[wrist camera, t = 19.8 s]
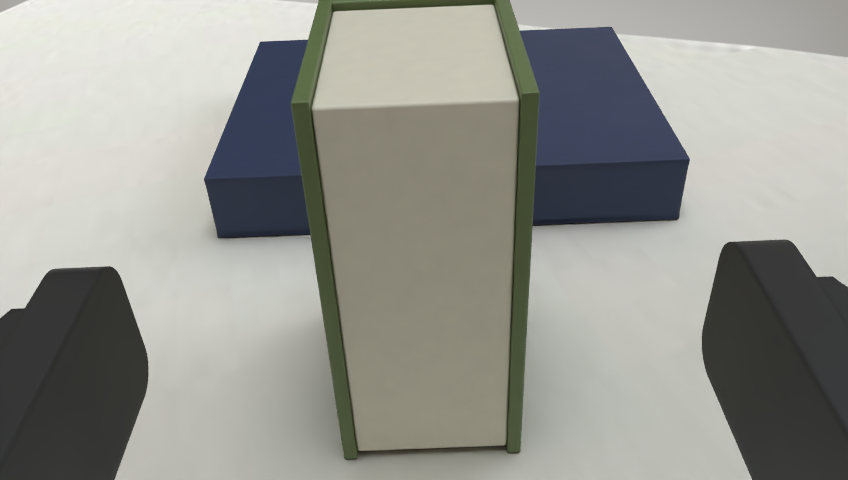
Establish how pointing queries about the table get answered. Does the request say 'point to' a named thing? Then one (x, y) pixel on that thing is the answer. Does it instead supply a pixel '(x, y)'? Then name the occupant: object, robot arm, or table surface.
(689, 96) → the table surface
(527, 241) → the dictionary
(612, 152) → the block
